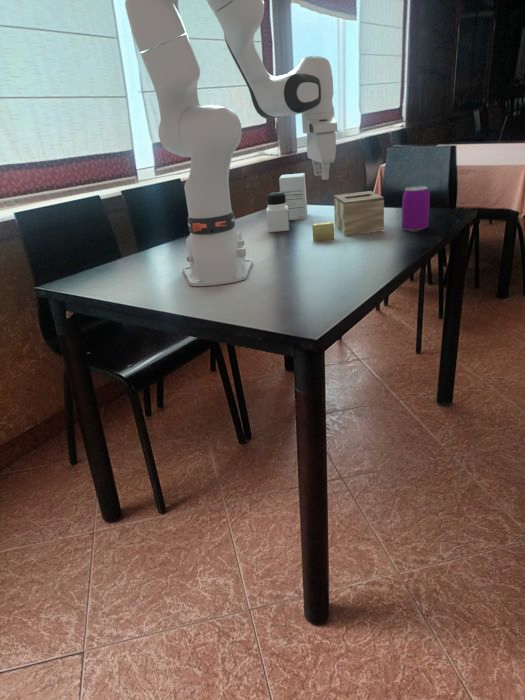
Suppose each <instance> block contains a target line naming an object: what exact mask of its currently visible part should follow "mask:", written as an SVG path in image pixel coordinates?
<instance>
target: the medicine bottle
mask: <svg viewBox="0 0 525 700" xmlns="http://www.w3.org/2000/svg"><path fill="white" fill-rule="evenodd" d="M266 200H267V207H266V221H267V228H268V229H267V230H268V233H280V232H288V231H290V228H291V227H290V220H289V214H288V206H287V205H286V198H285V194H284V193H282V192H280V191H277V192H271V193H269V194H267V196H266Z"/></svg>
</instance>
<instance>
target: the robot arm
mask: <svg viewBox="0 0 525 700" xmlns="http://www.w3.org/2000/svg"><path fill="white" fill-rule="evenodd" d="M206 2H207V4H208V6H209V7H210V9H211V10H212V12H213V14H214V15H215V18H216V19H217V21H218V22H219V24H220V26H221V28H222V31H223V38H224V42H225V44H226V46H227V49H228V51H229V53H230V55H231V57H232V59H233V61H234V62H235V65H236V67H237V68H238V71H239V73H240V75H241V77H242V78H243V80H244V82H245V84H246V86H247V88H248V91H249V94H250V97H251V102H252V105H253V107H254V110H255V111H256V113H257V114H259V116H260V117H262V118H264V119H267V120H273V119H277V118H281V117H287V116H288V117H289V116H294V115H296V116H297V115H300V114H301V124H302V134H306V153H307V158H308V159H310V160H312V161H311V163H312V168H313V175H314V176H315V177H318V176H321V180H324V181H325V180H329V179H330V173H329V172H330V169H331V168H330V167H331V163H335V160H336V155H337V154H336V153H337V137H336V132H337V131H338V121H336V117H335V108H334V105H333V104H334V103H333V97H334V80H333V79H334V78H333V71H332V66H331V64H330V60H329V59H327V58H326V57H325V56H324V57H323V56H318V55H317V56H316V55H315V56H314V55H312V56H310V55H309V56H305V57H303V58H302V59H301V60H300V63H299V64H297V65H296V67H295V68H293V69H291V71H288V73H284V74H281V75H277V76H275V75H272V74H271V73H269V72H268V71H267V69H266V67H265V65H264V63H263V60H262V59H261V56H260V55H259V52H258V50H257V48H256V46H255V42H254V41H255V40H254V38H255V37H254V36H255V34H256V32H257V31H258V30H259V28H260V26H261V24H262V22H263V18H264V16H265V14H264V13H265V1H264V0H206ZM124 7H125V10H126V15H127V19H128V22H129V26H130V28H131V33H132V35H133V38H134V41H135V44H136V46H137V49H138V51H139V54H140V55H141V58H142V61H143V63H144V66H145V68H146V71H147V73H148V76H149V79H150V81H151V83H152V86H153V89H154V92H155V96H156V100H157V105H158V110H159V117H160V120H159V121H160V122H159V125H158V139H159V141H160V143H161V145H162V147H163V148H164V149H165V150H166V151H168V152H169V153H170V154H173V155H175V156H179V157H181V158H182V157H183V158H190V168H189V169H190V170H189V176H188V178H187V179H186V181H185V183H184V194H185V201H186V206H187V212H188V217H187V225H188V231H189V235H188V236H187V238H186V239H185V241H186V242H185V243H186V250H187V254H188V256H187V257H186V260H187V262H188V263H189V265H186V266H184V267H182V272H183V275H184V277H185V278H186V280H187V283H188V284H189V285H190V286H191V287H209V286H219V285H224V284H225V285H226V284H233V283H236V282H240V281H243V280H246V279H247V277H248V275H249V274H250V271H251V268H252V267H253V264H254V262H253V259H252V258H248V257H247V254H246V253H247V252H246V247H244V245H245V241H244V239H243V234H242V232H241V231H239V230H238V229H237V228H236V227H235V226H236V222H235V220H236V219H235V215H234V211H233V210H232V204H231V196H230V195H231V194H230V182H229V179H230V178H229V177H230V170H231V162H232V157H233V155H234V153H235V151H236V150H237V148H238V146H239V145H240V143H241V139H242V135H243V130H242V129H243V127H242V124H241V120H240V118H239V117H238V115H237V114H236V112H235V111H233V109H231V108H229V107H226V106H222V105H217V104H207V105H202V106H201V104H200V101H199V97H198V82H199V80H200V77H201V69H200V65H199V63H198V60H197V56H196V55H195V54H196V53H195V51H194V49H193V45H192V43H191V41H190V38H189V36H188V33H187V30H186V28H185V25H184V22H183V20H182V17H181V15H180V7H179V0H124Z"/></svg>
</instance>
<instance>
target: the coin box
mask: <svg viewBox="0 0 525 700" xmlns="http://www.w3.org/2000/svg"><path fill="white" fill-rule="evenodd" d="M333 203H334V204H333V205H334V206H333V207H334V210H333V211H334V228H336V229H337V230H338V231H339V232H340V233H341V234H343V236H345V237H346V236H353V235H354V236H355V235H356V236H357V235H363V234H370V232H372V233H377V232H376V231H380V232H383V231H382V230H384V231H385V197H384V196H382V195H380V194H379V193H376V192H374V191H372V190H367V191H359V192H352V193H351V192H350V193H343V194H342V193H341V194H334V195H333Z"/></svg>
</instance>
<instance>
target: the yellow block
mask: <svg viewBox="0 0 525 700" xmlns="http://www.w3.org/2000/svg"><path fill="white" fill-rule="evenodd" d="M311 226H312V228H311V229H312V241H313V242H314V243H321V242H329V241H335V222H333V221H326V222H325V221H324V222H319V223H318V222H317V223H312V224H311Z"/></svg>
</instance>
